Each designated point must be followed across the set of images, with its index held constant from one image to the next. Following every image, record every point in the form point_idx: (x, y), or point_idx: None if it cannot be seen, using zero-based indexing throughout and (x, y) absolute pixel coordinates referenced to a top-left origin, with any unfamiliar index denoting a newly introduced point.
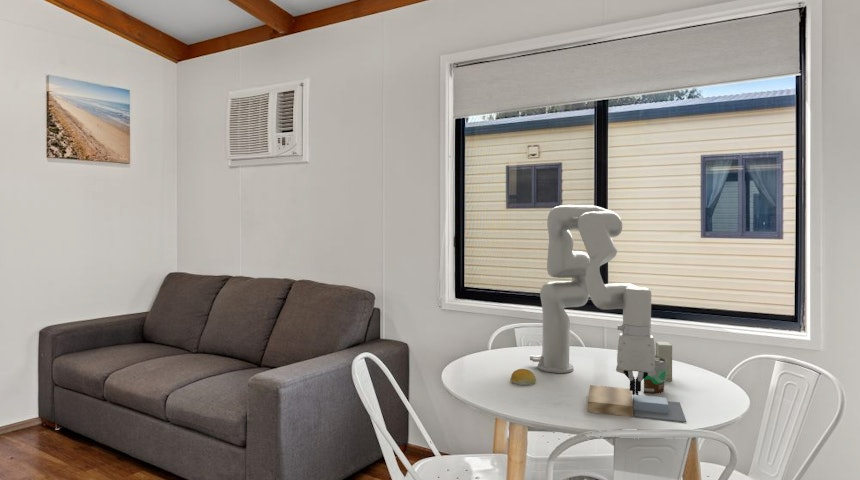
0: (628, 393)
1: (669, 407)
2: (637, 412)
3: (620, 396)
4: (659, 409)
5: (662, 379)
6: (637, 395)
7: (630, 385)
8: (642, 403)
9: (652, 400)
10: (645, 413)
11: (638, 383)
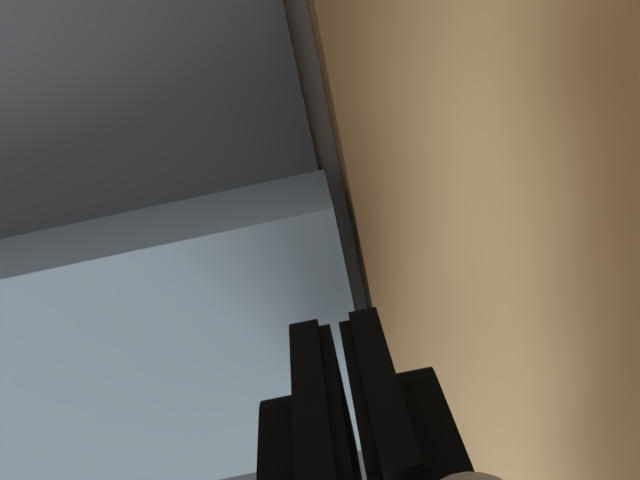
0: None
1: None
2: (261, 86)
3: (527, 287)
4: (21, 245)
5: None
6: None
7: (442, 420)
8: (217, 225)
9: (113, 354)
10: (166, 105)
11: (294, 458)
